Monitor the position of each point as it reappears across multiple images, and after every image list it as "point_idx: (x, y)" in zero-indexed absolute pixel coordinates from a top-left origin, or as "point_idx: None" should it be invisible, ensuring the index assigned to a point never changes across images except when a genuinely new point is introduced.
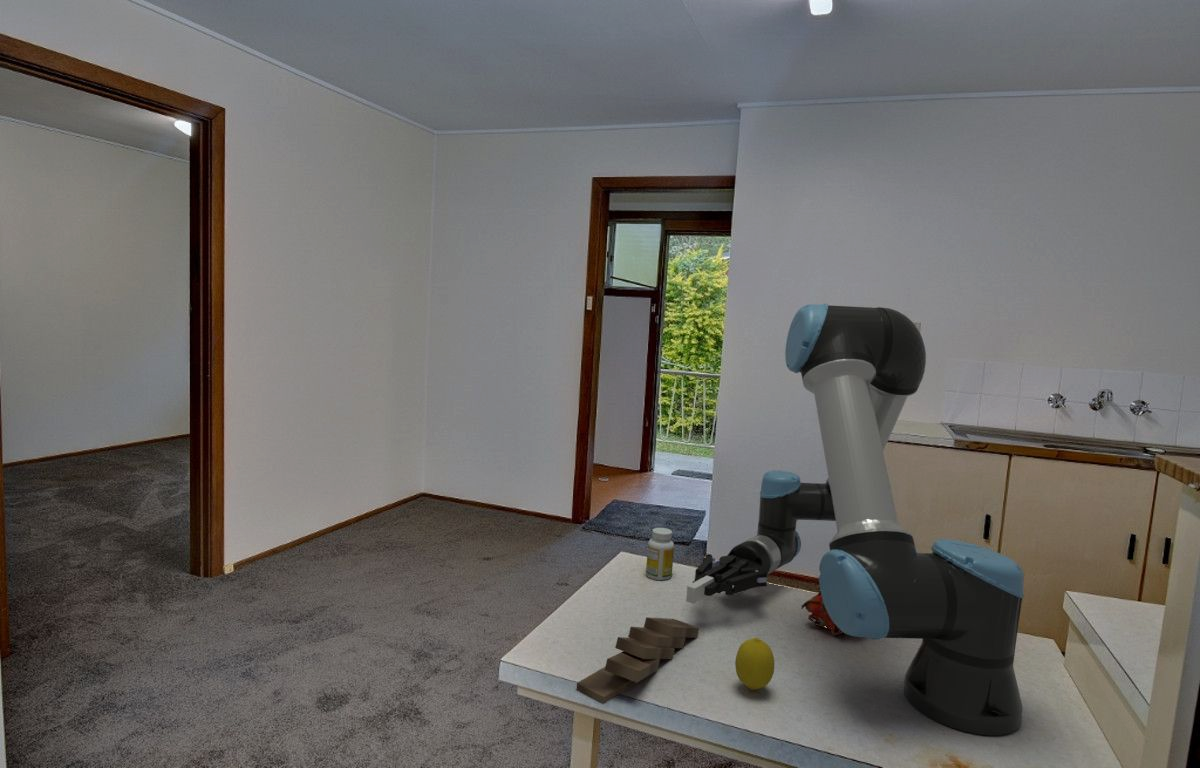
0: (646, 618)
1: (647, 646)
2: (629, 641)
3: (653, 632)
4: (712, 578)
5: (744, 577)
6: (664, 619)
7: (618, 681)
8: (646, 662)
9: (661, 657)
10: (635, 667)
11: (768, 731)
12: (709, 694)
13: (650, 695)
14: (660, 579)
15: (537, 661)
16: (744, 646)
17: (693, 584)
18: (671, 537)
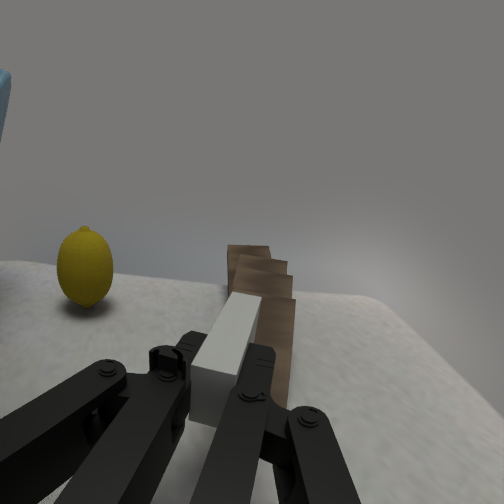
0: (293, 300)
1: (244, 265)
2: (268, 258)
3: (260, 291)
4: (196, 356)
5: (16, 416)
6: (281, 350)
7: None
8: (235, 271)
9: None
10: (235, 248)
11: None
12: (146, 296)
13: (215, 288)
14: None
15: (358, 300)
16: (103, 238)
17: (248, 305)
18: None
